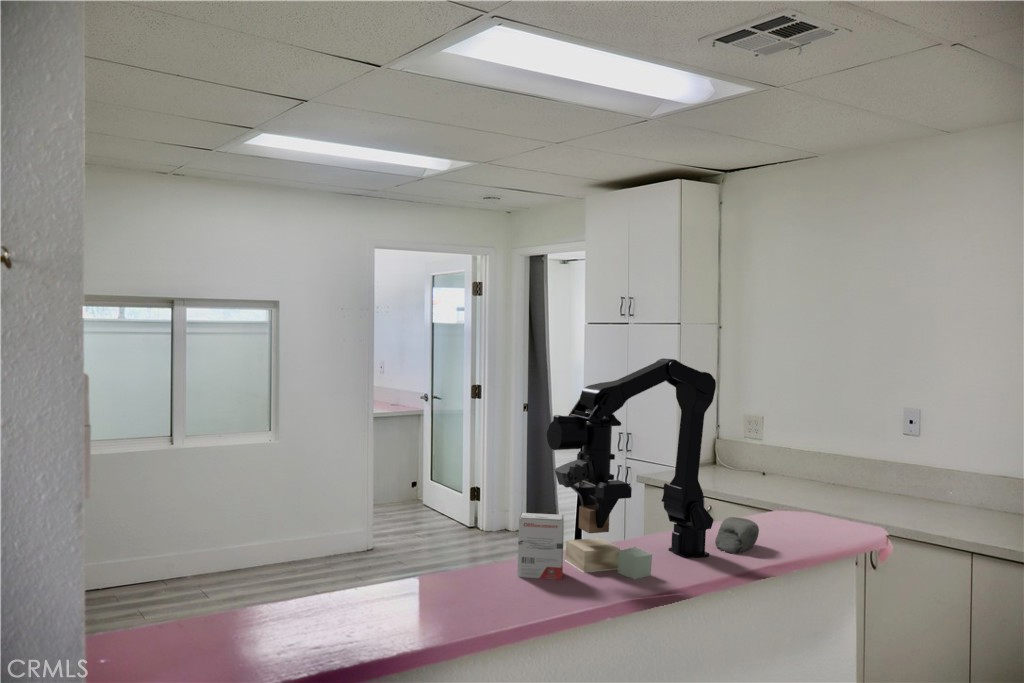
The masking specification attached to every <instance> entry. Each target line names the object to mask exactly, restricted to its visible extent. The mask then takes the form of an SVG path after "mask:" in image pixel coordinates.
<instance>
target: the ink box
mask: <svg viewBox="0 0 1024 683" xmlns="http://www.w3.org/2000/svg"><path fill="white" fill-rule="evenodd" d="M564 519H565V517H564V514H556V513H555V514H552V513H551V514H549V513H533V512H532V513H530V512H521V513H520V515H519V518H518V540H517V541H518V544H517V577H519V578H531V579H544V580H558V581H559V580H563V573H564V567H563V566H564V560H563V559H564V527H565V526H564V523H565V521H564Z"/></svg>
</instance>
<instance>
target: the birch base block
mask: <svg viewBox="0 0 1024 683" xmlns="http://www.w3.org/2000/svg"><path fill="white" fill-rule="evenodd" d="M620 550H621V548H620V547H618V546H616V545H614V544H613V543H611V542H609V541H607V540H605V539H603V538H602V537H595V538H583V539H569V540H565V558H564V559H565V560H566V561H568V562H569V563H571V564H573V565H574V566H576V567H577V568H579V569H580V570H582V571H584V572H585V573H587V572H586V571H596V570H606V569H616V570H618V569H617V568H618V563H619V551H620ZM566 561H565V562H566ZM569 563H568V564H569ZM606 571H607V570H606ZM596 572H597V571H596Z"/></svg>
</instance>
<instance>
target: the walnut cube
mask: <svg viewBox="0 0 1024 683" xmlns="http://www.w3.org/2000/svg"><path fill="white" fill-rule="evenodd" d="M578 529H580V530H582V531H584V532H586V533H587V534H600V533H609V532H610V516H609V517H608V518H607V520H606V522H605V524H604V526H603V528H597V523H596V509H595V505H585V506H582V505H579V507H578Z"/></svg>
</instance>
